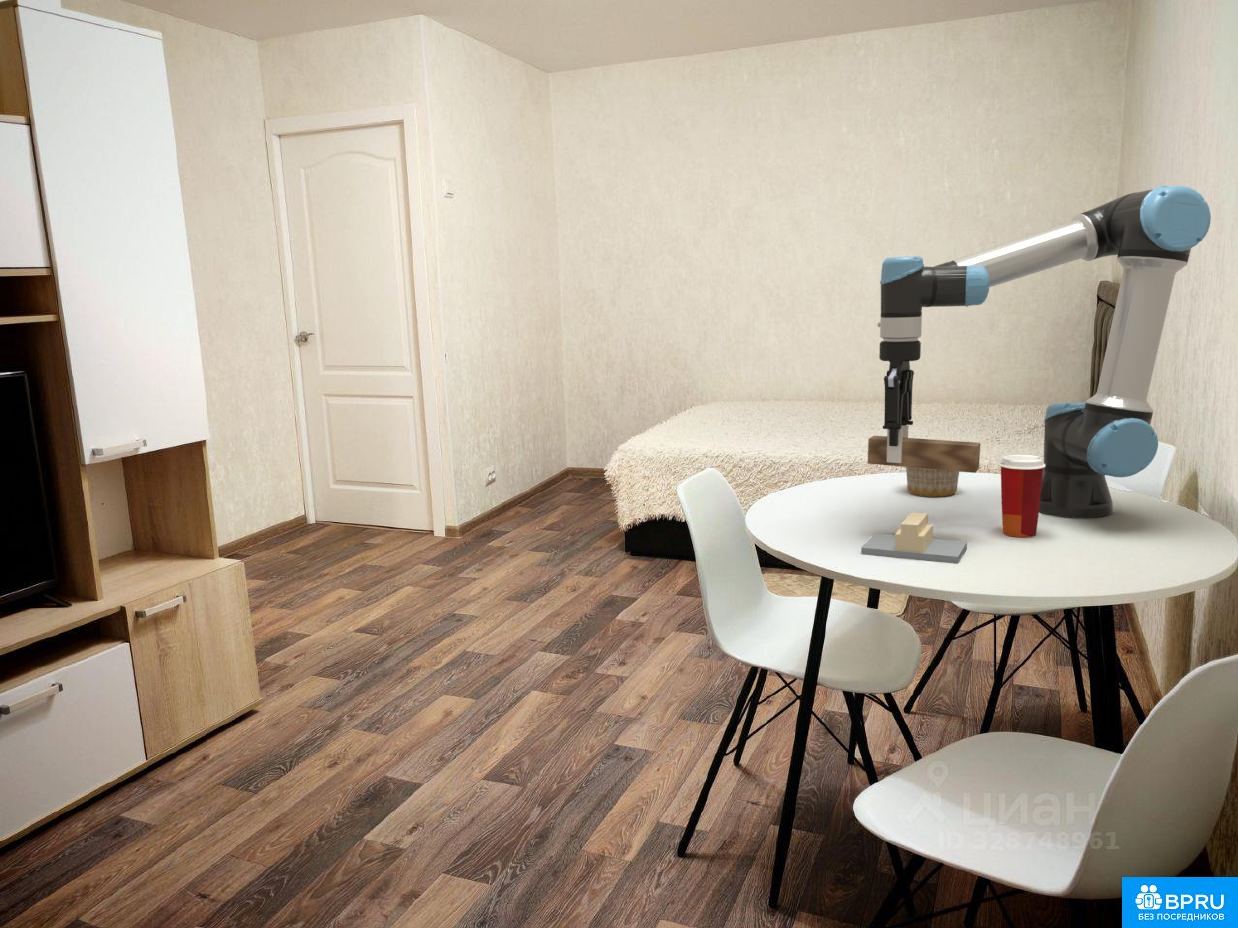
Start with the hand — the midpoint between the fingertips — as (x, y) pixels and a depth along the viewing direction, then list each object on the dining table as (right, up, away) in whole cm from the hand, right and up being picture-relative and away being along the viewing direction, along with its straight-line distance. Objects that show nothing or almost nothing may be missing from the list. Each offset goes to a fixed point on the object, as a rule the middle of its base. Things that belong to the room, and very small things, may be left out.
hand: (897, 459), depth 176 cm
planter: (+20, -8, +37) cm, 43 cm away
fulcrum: (0, -17, -9) cm, 19 cm away
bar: (+4, -1, -2) cm, 5 cm away
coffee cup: (+24, -15, 0) cm, 28 cm away
